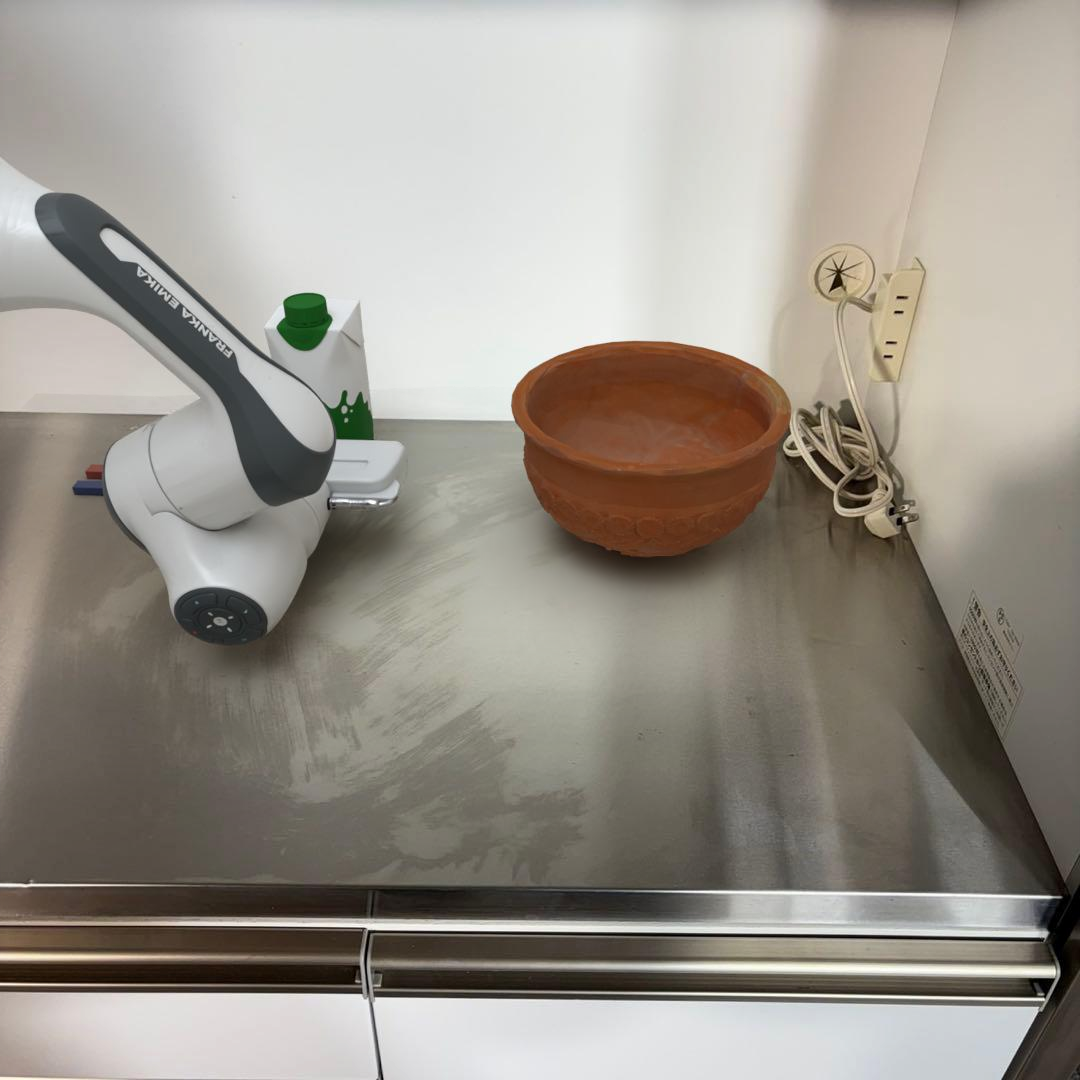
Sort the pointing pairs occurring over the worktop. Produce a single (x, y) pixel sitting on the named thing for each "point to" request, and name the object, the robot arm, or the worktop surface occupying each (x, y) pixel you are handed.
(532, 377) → the bowl
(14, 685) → the worktop surface
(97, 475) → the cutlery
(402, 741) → the worktop surface
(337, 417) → the milk carton
